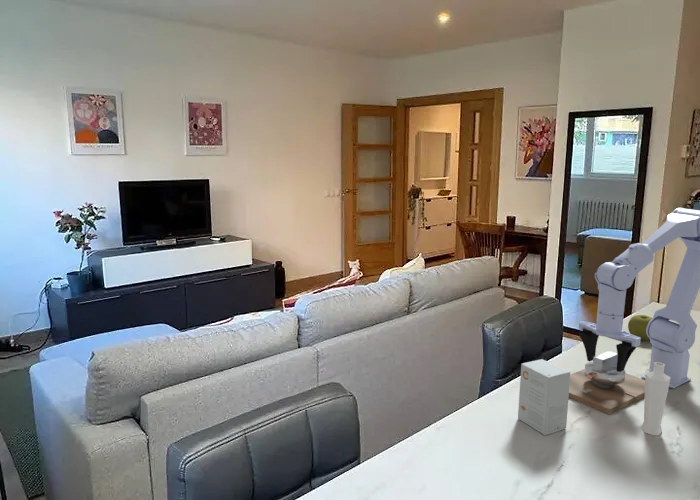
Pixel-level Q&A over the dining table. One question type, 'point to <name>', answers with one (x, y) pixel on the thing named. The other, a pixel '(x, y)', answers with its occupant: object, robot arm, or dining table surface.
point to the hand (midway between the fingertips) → (605, 365)
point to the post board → (606, 392)
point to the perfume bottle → (655, 398)
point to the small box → (544, 396)
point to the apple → (639, 326)
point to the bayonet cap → (604, 369)
